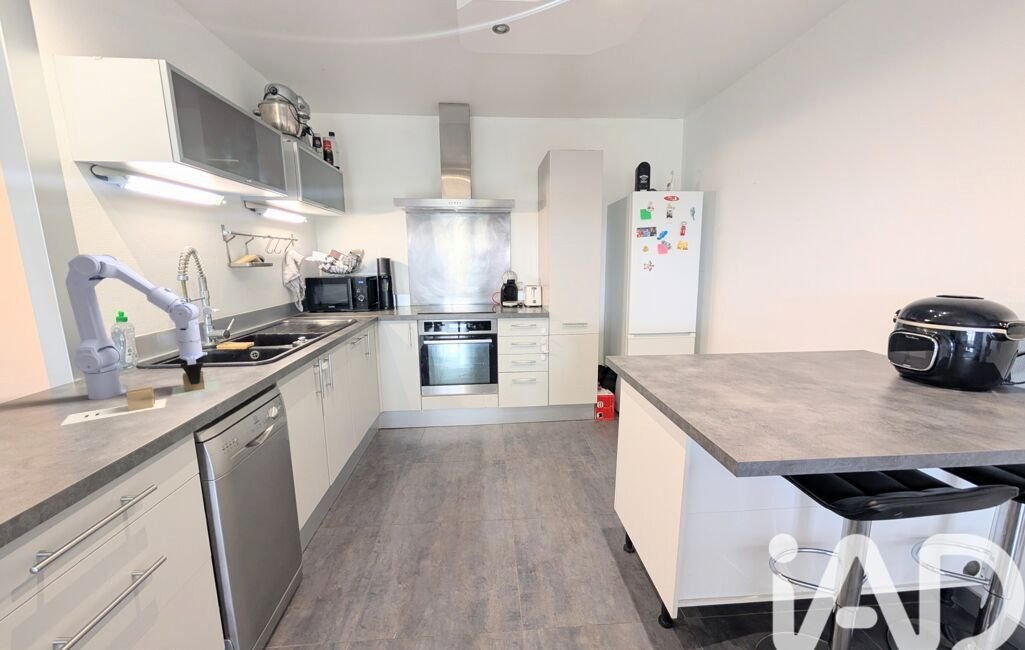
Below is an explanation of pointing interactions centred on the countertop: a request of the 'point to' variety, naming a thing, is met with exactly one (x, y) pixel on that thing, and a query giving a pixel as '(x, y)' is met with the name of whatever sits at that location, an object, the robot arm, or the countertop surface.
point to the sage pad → (208, 387)
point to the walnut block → (193, 387)
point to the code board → (107, 413)
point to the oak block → (140, 398)
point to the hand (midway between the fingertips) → (195, 381)
